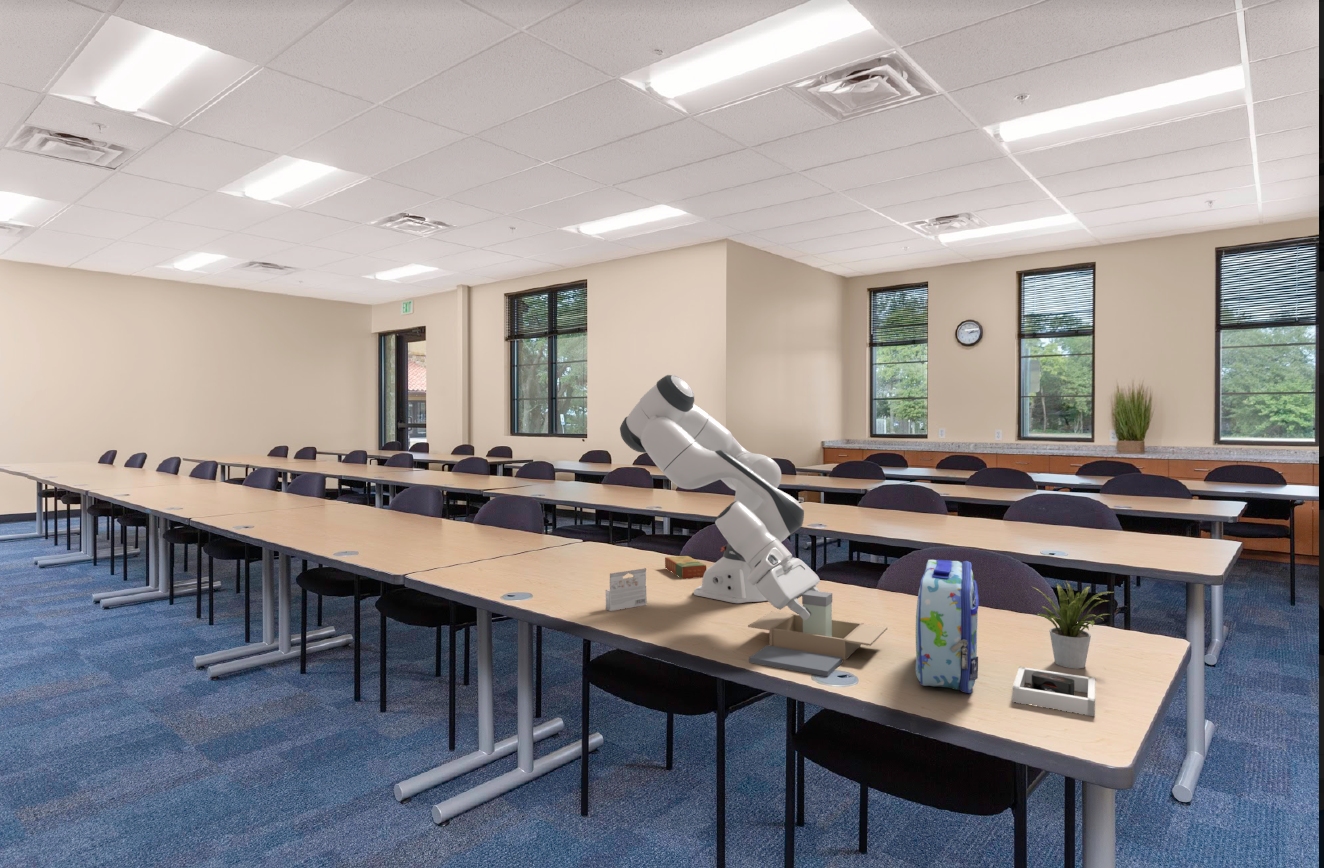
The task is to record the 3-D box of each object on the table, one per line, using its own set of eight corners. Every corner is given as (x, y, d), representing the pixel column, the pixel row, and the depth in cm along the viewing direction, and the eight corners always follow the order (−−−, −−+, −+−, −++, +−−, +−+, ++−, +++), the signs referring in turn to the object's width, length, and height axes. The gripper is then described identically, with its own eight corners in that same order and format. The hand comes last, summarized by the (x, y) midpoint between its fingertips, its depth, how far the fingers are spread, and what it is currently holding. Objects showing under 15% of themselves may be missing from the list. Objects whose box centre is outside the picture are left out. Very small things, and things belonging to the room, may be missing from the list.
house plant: (1138, 674, 136) (1139, 587, 136) (1079, 682, 133) (1080, 593, 132) (1075, 651, 150) (1075, 572, 150) (1020, 658, 146) (1020, 576, 146)
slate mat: (749, 662, 145) (749, 657, 145) (766, 650, 153) (766, 645, 153) (827, 676, 137) (827, 671, 137) (842, 662, 144) (842, 657, 144)
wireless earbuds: (1031, 687, 131) (1031, 669, 131) (1075, 698, 125) (1075, 680, 125) (1021, 694, 127) (1021, 676, 127) (1066, 706, 122) (1066, 687, 122)
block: (802, 645, 155) (802, 594, 155) (809, 640, 159) (808, 590, 159) (826, 649, 153) (825, 597, 152) (832, 644, 156) (832, 593, 156)
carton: (688, 568, 238) (688, 555, 238) (707, 578, 223) (707, 564, 223) (664, 569, 236) (664, 556, 236) (681, 580, 221) (681, 566, 220)
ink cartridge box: (605, 609, 186) (604, 571, 186) (642, 603, 192) (641, 566, 192) (609, 612, 184) (609, 573, 184) (647, 605, 190) (646, 568, 190)
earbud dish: (1012, 702, 124) (1012, 687, 124) (1019, 680, 134) (1019, 666, 134) (1094, 716, 118) (1094, 701, 117) (1095, 692, 128) (1095, 678, 128)
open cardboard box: (747, 644, 157) (747, 625, 156) (772, 628, 168) (772, 610, 168) (870, 664, 143) (870, 644, 143) (887, 645, 155) (887, 626, 155)
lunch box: (979, 703, 123) (979, 580, 123) (912, 694, 128) (912, 575, 127) (977, 656, 148) (977, 553, 147) (920, 650, 152) (920, 550, 151)
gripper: (781, 563, 170) (822, 609, 165) (743, 581, 153) (789, 633, 148) (798, 545, 168) (841, 591, 163) (762, 562, 150) (809, 614, 146)
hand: (816, 612), depth 155 cm, fingers open, 8 cm apart
